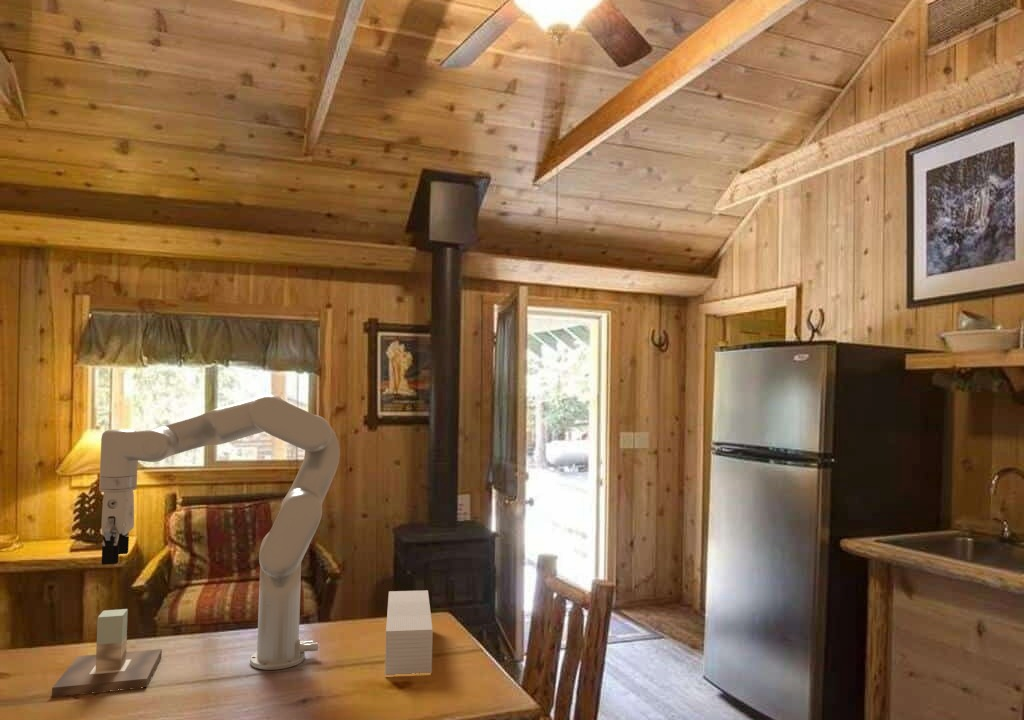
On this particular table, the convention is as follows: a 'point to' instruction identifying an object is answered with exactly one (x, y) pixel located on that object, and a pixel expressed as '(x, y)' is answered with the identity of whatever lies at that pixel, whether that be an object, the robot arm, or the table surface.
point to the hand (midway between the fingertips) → (115, 558)
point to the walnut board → (107, 674)
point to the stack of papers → (408, 633)
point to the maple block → (111, 656)
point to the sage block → (112, 626)
